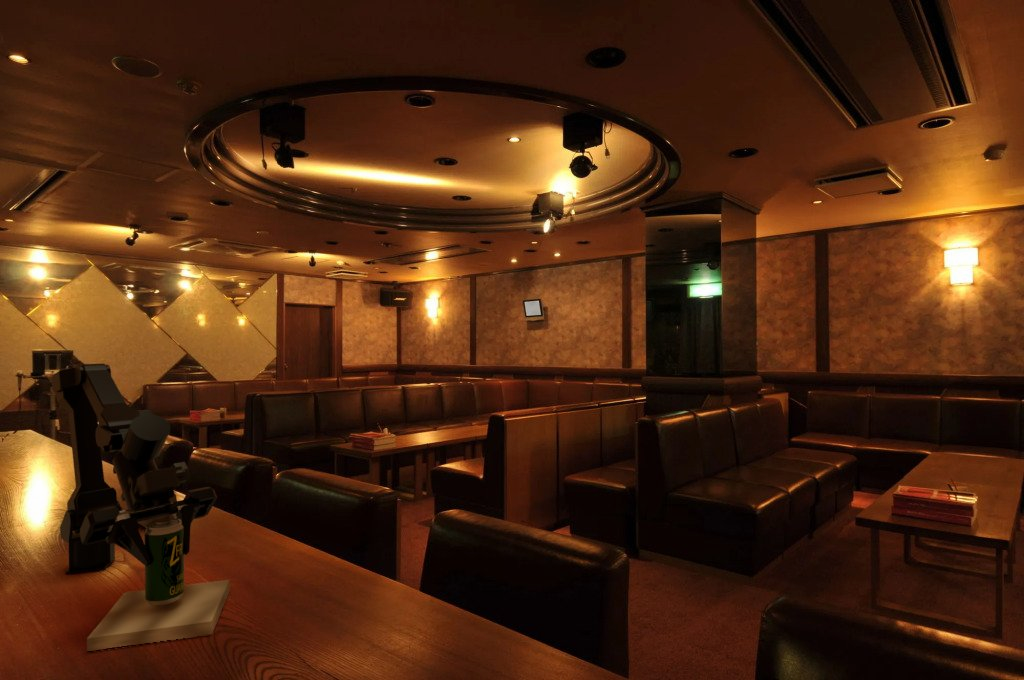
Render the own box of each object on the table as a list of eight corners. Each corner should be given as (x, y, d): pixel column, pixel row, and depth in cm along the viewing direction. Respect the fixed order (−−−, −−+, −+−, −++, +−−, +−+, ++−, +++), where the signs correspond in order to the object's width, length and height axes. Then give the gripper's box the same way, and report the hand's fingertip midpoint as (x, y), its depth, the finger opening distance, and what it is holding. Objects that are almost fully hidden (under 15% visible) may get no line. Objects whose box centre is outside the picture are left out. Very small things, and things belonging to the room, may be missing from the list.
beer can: (137, 606, 91) (136, 529, 91) (156, 591, 96) (155, 518, 96) (173, 605, 91) (173, 528, 91) (190, 590, 97) (189, 517, 97)
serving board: (87, 652, 84) (86, 638, 84) (125, 604, 99) (124, 592, 99) (211, 634, 88) (211, 621, 88) (229, 591, 104) (229, 579, 104)
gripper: (85, 458, 89) (113, 548, 82) (211, 440, 103) (244, 515, 97) (68, 501, 94) (93, 589, 87) (191, 478, 108) (221, 552, 102)
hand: (168, 558), depth 93 cm, fingers closed on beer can, 5 cm apart
